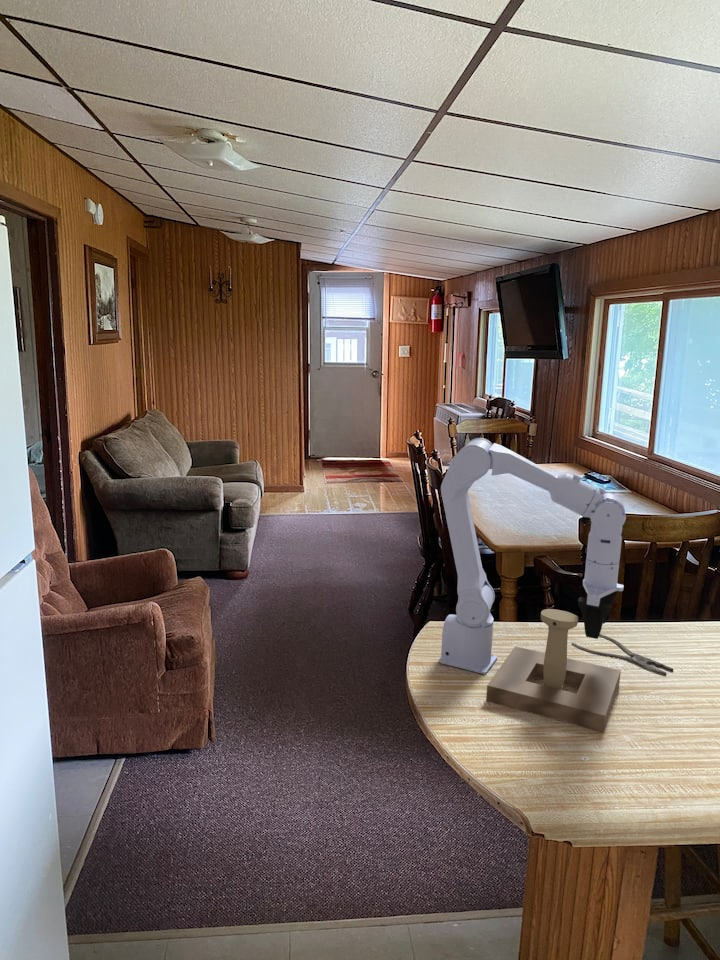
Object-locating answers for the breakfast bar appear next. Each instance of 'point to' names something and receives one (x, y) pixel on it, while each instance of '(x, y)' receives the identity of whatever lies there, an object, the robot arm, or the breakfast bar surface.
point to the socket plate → (573, 708)
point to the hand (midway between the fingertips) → (595, 629)
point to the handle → (556, 645)
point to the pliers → (634, 657)
